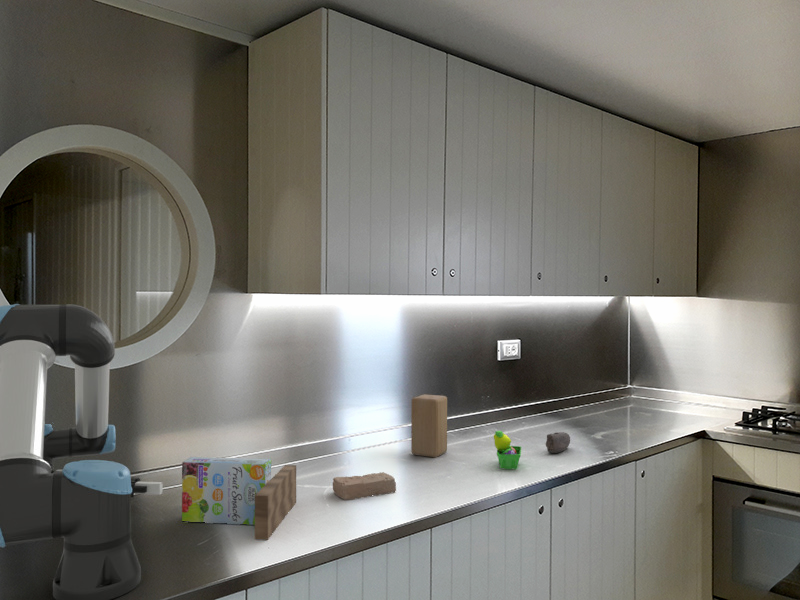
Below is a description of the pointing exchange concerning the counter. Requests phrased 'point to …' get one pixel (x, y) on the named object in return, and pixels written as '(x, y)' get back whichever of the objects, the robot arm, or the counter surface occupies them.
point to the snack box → (222, 489)
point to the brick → (363, 485)
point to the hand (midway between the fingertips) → (161, 488)
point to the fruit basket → (506, 451)
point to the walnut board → (275, 502)
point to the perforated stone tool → (557, 442)
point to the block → (429, 425)
